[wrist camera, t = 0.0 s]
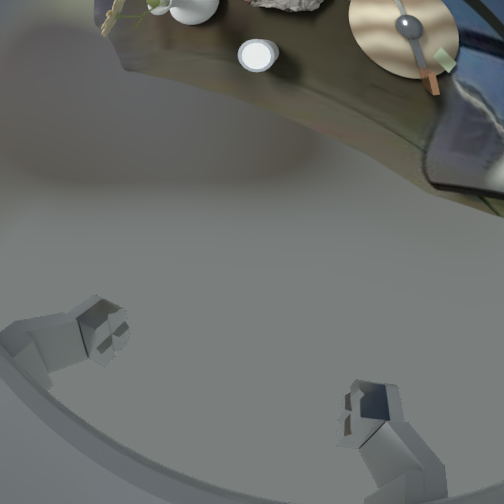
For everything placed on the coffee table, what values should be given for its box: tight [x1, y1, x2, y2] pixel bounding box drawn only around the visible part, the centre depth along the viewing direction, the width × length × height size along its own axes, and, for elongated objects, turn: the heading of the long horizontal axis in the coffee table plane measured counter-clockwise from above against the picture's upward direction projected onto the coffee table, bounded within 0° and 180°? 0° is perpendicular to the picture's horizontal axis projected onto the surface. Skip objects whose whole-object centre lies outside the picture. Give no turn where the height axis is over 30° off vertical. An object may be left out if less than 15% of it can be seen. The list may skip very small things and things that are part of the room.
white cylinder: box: [238, 39, 279, 72], centre depth 41 cm, size 7×7×7 cm
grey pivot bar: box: [394, 0, 440, 95], centre depth 27 cm, size 21×5×7 cm, turn 28°
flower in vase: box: [101, 0, 219, 37], centre depth 29 cm, size 13×11×25 cm
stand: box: [349, 0, 459, 79], centre depth 29 cm, size 22×22×2 cm
